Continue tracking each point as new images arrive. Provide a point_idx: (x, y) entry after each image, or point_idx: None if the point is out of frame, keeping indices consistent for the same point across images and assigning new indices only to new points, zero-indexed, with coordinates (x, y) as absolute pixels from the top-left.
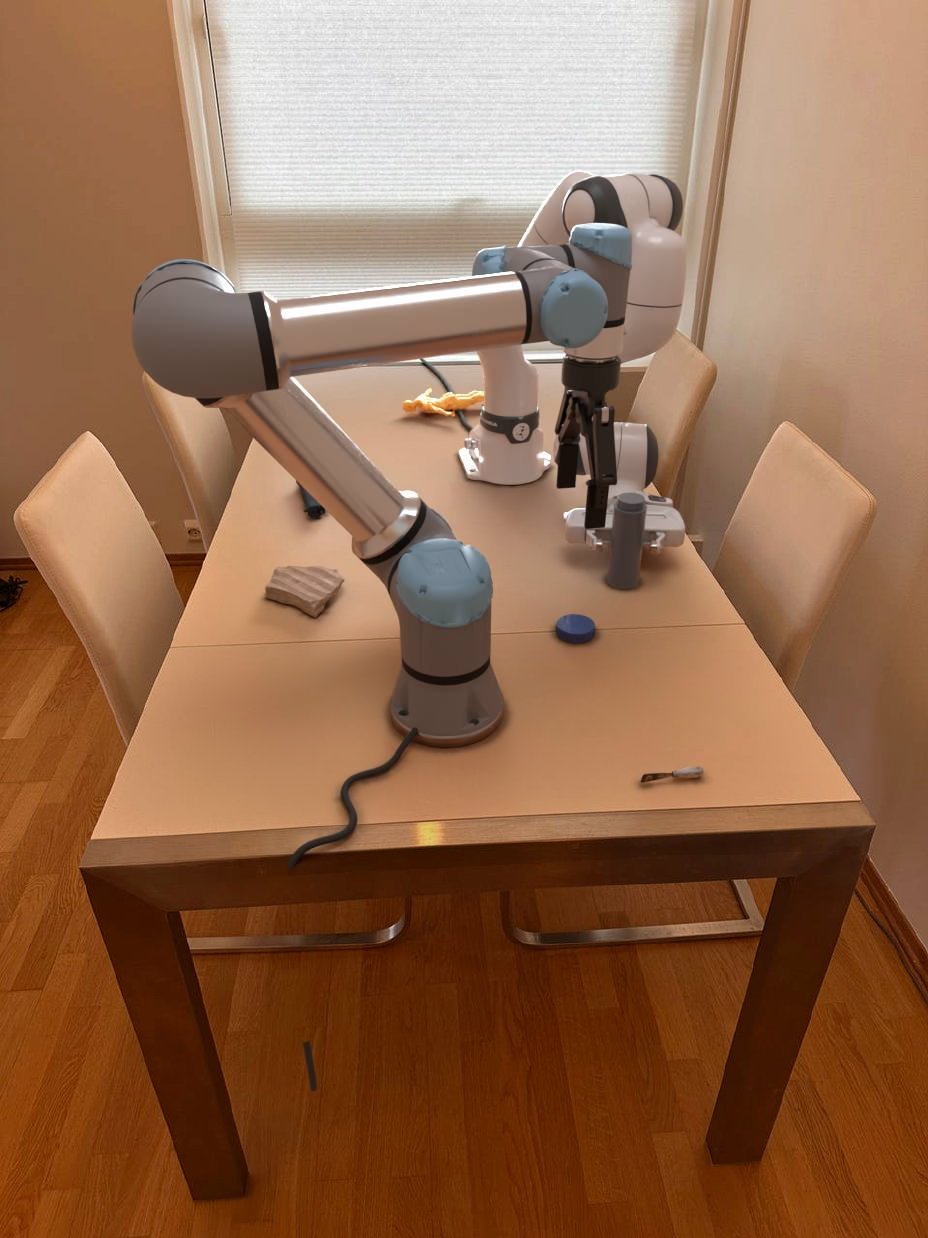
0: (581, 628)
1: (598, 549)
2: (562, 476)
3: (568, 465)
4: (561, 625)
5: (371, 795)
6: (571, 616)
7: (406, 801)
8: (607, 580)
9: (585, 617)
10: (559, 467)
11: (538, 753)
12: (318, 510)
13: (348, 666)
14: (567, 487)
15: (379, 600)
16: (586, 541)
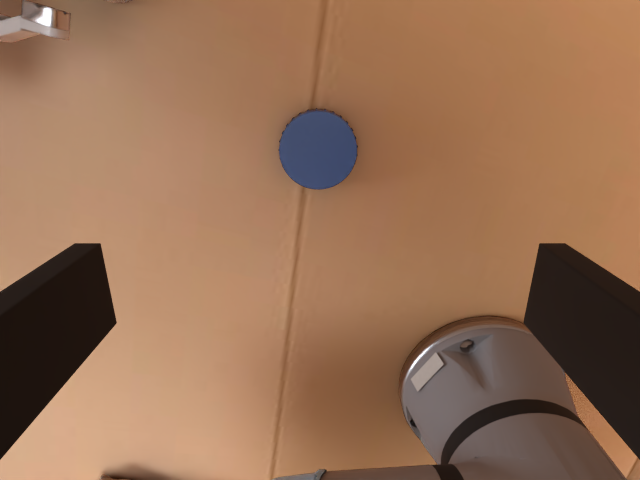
0: (337, 145)
1: (67, 24)
2: (79, 341)
3: (32, 355)
4: (318, 181)
5: None
6: (288, 151)
7: (615, 439)
8: (113, 2)
9: (297, 123)
10: (52, 396)
11: None
12: None
13: (337, 470)
14: (107, 282)
15: (166, 425)
16: (9, 41)
